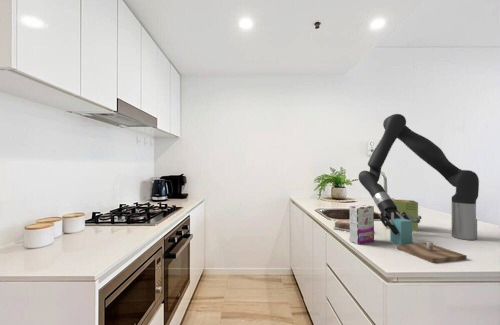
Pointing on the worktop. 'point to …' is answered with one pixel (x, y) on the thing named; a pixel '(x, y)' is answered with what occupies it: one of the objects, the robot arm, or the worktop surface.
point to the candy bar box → (361, 224)
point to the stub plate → (431, 252)
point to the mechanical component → (414, 218)
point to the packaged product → (342, 226)
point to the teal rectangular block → (402, 232)
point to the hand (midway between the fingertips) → (404, 233)
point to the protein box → (407, 210)
